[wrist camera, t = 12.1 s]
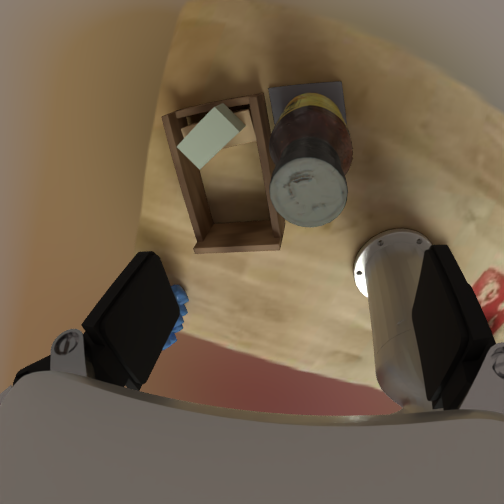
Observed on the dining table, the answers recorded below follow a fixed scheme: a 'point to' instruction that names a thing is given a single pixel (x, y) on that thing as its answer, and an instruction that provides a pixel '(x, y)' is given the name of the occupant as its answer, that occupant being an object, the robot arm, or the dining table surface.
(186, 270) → the dining table surface
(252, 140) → the plate
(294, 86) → the mat
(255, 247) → the wooden tray
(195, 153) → the offcut top
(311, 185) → the sauce bottle
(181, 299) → the grapes
